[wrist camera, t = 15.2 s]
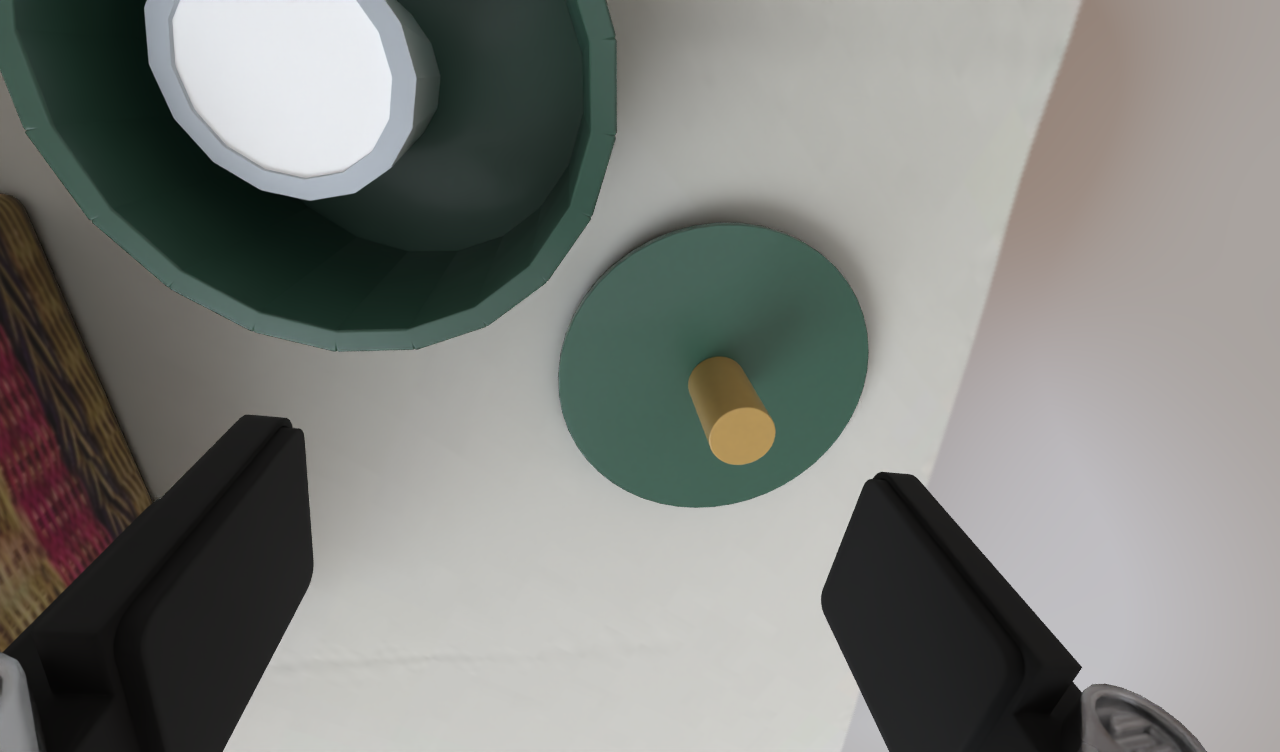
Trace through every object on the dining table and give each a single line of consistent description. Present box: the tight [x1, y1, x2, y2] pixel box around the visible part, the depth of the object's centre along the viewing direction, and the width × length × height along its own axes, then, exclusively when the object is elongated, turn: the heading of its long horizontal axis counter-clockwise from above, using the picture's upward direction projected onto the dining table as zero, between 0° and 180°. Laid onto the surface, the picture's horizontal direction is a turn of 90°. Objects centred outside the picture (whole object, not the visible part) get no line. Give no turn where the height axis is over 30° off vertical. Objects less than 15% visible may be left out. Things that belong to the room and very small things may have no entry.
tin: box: [0, 0, 617, 352], centre depth 19 cm, size 14×14×10 cm
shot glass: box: [144, 0, 440, 201], centre depth 19 cm, size 7×7×7 cm
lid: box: [558, 223, 868, 508], centre depth 28 cm, size 15×15×6 cm
